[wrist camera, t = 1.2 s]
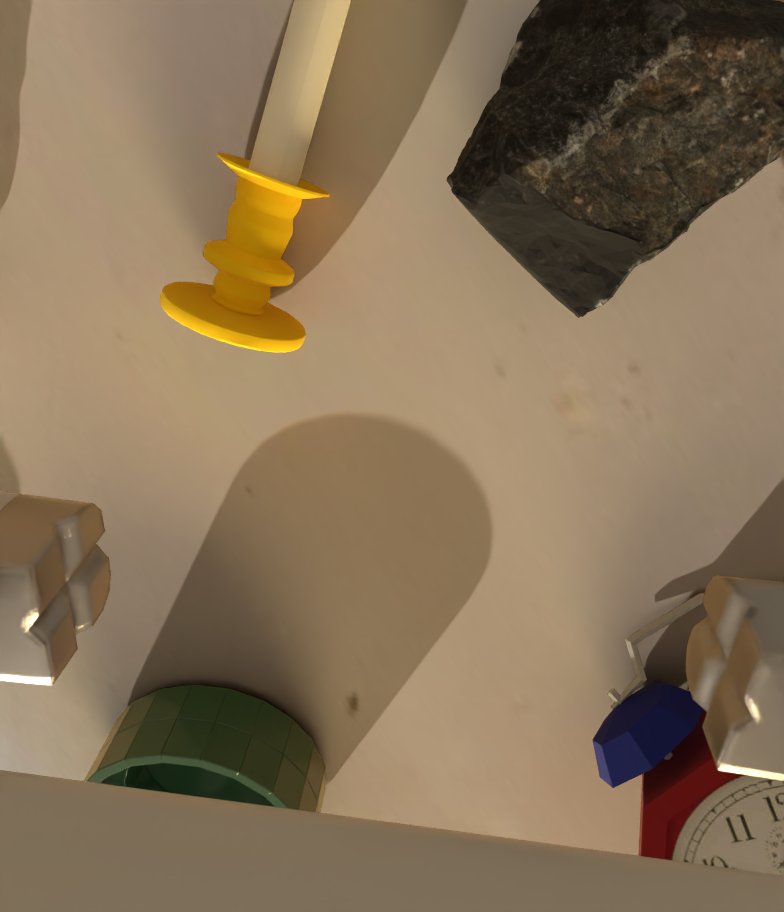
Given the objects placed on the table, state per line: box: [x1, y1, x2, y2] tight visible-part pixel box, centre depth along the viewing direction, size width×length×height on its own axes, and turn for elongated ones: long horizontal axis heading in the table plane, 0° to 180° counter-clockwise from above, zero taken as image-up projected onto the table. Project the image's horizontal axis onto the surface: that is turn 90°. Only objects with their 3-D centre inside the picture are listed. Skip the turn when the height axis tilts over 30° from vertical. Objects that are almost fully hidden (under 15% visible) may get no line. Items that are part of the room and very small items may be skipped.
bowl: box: [84, 685, 325, 813], centre depth 40 cm, size 12×12×5 cm
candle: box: [160, 0, 351, 352], centre depth 24 cm, size 5×5×16 cm
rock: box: [447, 0, 784, 318], centre depth 22 cm, size 8×7×10 cm
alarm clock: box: [593, 593, 784, 875], centre depth 34 cm, size 15×9×20 cm
